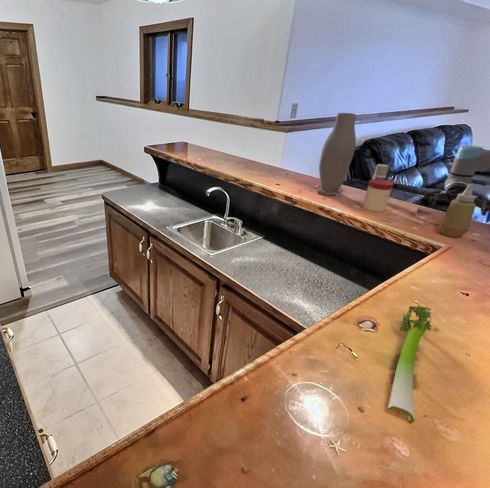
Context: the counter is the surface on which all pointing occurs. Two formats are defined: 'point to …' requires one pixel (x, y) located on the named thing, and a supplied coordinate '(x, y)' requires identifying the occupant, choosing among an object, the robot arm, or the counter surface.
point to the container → (381, 171)
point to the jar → (376, 199)
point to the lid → (380, 184)
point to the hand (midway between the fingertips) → (459, 207)
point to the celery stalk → (408, 361)
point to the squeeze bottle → (458, 214)
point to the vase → (337, 154)
